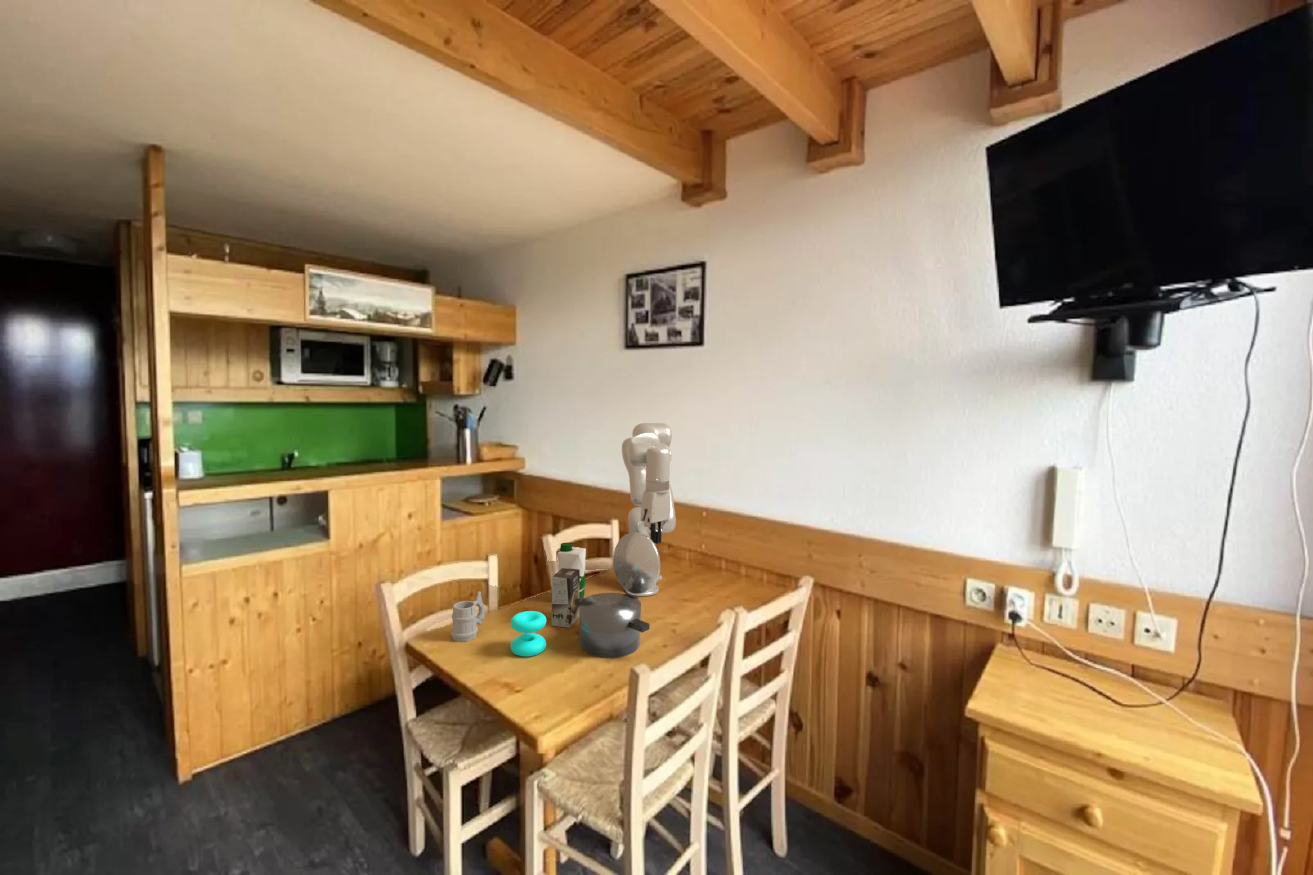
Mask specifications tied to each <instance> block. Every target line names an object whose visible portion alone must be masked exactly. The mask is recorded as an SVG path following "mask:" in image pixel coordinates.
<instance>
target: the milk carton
mask: <svg viewBox="0 0 1313 875" xmlns="http://www.w3.org/2000/svg"><path fill="white" fill-rule="evenodd" d="M586 550H587V549H586V548H584V547H577V546H576V547H575V546H573V543H571V542H562V543H560V549H559V550H558V552H557V559H558V560H557V561H558V562H557V563H558V565H557V566H558V567H557V568H558V569H557V570H558V571H560V570H561V569H562V568H566V569H579V570H580V583H579V598H581V597H583V598H585V588H586V553H587V551H586ZM558 571H557V572H558Z"/></svg>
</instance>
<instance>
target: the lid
mask: <svg viewBox="0 0 1313 875" xmlns="http://www.w3.org/2000/svg"><path fill="white" fill-rule="evenodd" d="M612 556H613V557H612V565H613V566H612V567H613V571H614V574H615V577H616V580H617V582H618V583H619V584H620V586H621V587H622V588H623V589H624V590H625V589H626V590H627V591H629V592H631V593H635V594H639V593H644V592H647V591H649V590H650V589H651V588H652V587H653V586H654V585H655V583H656V584H657V583H658V581H657V580H658V577H659V575H661V574H660V573H661V559H660V558H661V557H660V553H659V550H658V548H657V544H656V543H655V544H654V542H653V541H652V540H651V539H650V538H649V537H648V536H646V535H645V534H642V533H638V532H635V533H630V532H628V533H626V534H625V535H623V536H622V537H621V538H620V539H619V540H618V542H617V543H616V546H615V547H614V551H613V555H612Z"/></svg>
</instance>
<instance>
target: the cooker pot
mask: <svg viewBox="0 0 1313 875" xmlns="http://www.w3.org/2000/svg"><path fill="white" fill-rule="evenodd" d="M575 605H577V606H579V640H578V642H579V648H580V650H582V651H583V653H586V654H588V655H590V656H592V657H596V658H603V659H604V658H605V659H606V658H607V659H615V658H620V657H625V656H628V655H631V654H633V653H635V652H636V651H637V650H638V649H639V648H640V645H641V633H642V634H643V633H645V632H647V631H649V630H650V626H651V624H650V623H648V622H646V621H643V620H641V618H642V603H641V600H639V596H635V595H631V594H629V593H627V592H626V593H620V592H600V593H595V594H592V595H589V596H586V597H581V598H578V599H576V600H575Z"/></svg>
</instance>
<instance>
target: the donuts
mask: <svg viewBox="0 0 1313 875" xmlns="http://www.w3.org/2000/svg"><path fill="white" fill-rule="evenodd" d="M546 624H547V617H546V616H545V614H543V613H542V612H540V611H536V610H535V611H534V610H527V611H522V612H518V613H516V614H515V615H514V616H512V617H511V619H510V627H511V629H512V630H514V631H515V632H518V633H521V634H520V635H517V636H516V637H515V638H513V639H512V640H511V643H510V651H511V652H512V653H513V654H514V655H516V656H518V657H519V656H520V657H533V656H536V655H539V654H541V653H542V652H544V650H545V649H546V647H547V642H546V639H545V637H544V636H542V635H541V634H538V633H536V632H539V631H540V630H542V629H543V628H544V627H545V626H546Z"/></svg>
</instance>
